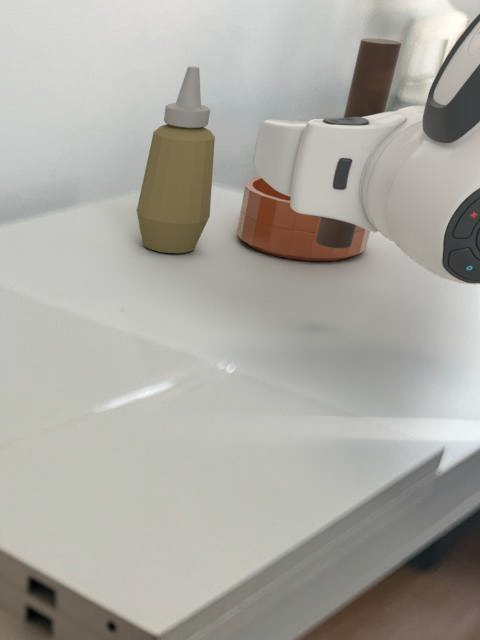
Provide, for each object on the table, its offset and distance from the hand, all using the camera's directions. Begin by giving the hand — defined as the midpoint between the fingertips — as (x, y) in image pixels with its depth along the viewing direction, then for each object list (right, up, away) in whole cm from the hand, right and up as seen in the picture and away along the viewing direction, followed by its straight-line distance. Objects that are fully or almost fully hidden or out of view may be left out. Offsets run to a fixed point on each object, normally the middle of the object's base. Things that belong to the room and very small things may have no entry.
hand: (354, 135), depth 89 cm
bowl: (+4, +3, +31) cm, 31 cm away
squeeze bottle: (-12, +1, +28) cm, 30 cm away
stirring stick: (0, -8, +5) cm, 9 cm away
